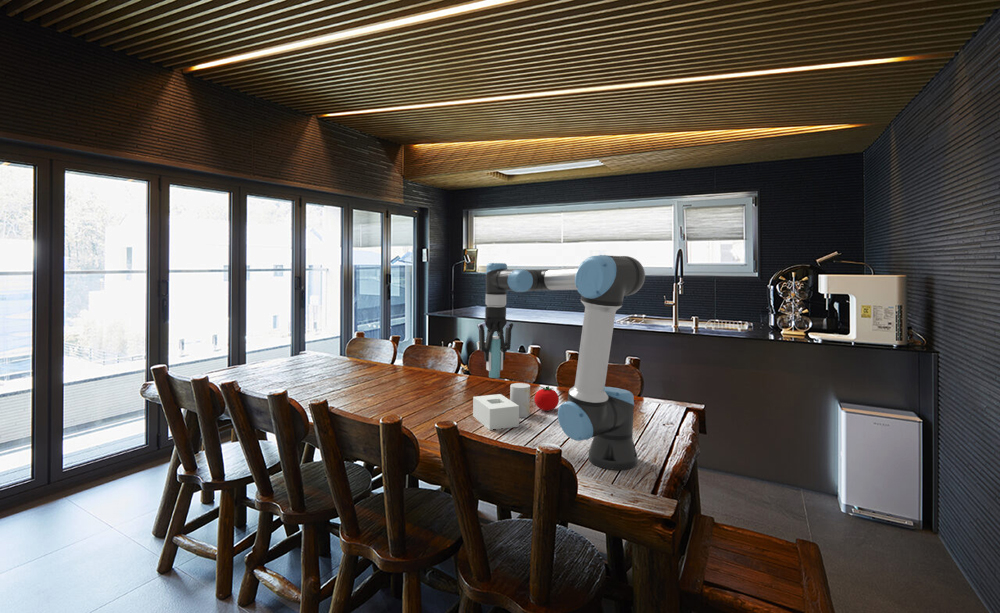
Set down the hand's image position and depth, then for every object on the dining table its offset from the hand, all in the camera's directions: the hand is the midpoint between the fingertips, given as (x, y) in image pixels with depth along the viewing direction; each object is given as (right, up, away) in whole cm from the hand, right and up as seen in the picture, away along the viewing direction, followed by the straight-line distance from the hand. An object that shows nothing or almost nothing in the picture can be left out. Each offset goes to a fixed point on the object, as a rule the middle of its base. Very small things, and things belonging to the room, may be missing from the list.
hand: (494, 369), depth 179 cm
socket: (0, -22, +14) cm, 26 cm away
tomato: (+22, -21, +29) cm, 42 cm away
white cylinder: (+10, -22, +23) cm, 33 cm away
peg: (0, -3, 0) cm, 3 cm away
